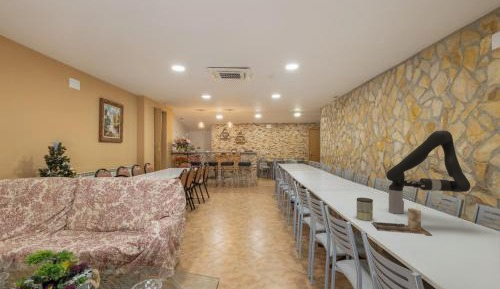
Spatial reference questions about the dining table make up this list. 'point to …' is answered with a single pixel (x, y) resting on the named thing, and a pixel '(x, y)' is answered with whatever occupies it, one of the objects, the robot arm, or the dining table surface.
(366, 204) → the coffee can
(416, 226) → the birch block
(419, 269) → the dining table surface
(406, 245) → the dining table surface
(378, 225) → the board
